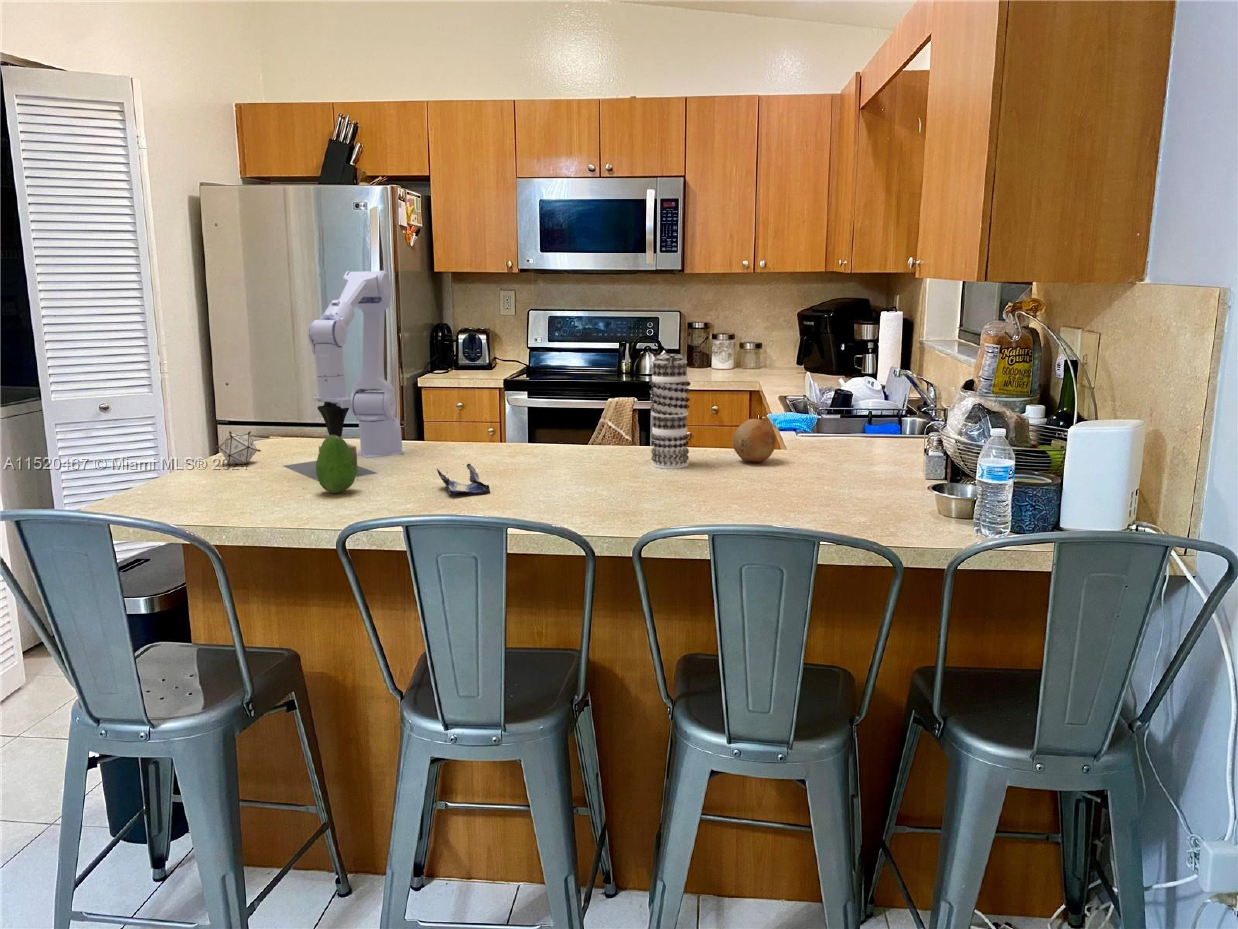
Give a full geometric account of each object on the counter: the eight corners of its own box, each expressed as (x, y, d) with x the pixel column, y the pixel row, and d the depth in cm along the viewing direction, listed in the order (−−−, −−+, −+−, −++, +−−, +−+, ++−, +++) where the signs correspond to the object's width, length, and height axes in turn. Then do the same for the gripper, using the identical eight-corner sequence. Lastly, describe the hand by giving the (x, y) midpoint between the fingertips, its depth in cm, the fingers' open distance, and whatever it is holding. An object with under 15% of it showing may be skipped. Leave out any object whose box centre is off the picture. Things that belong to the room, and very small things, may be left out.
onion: (727, 465, 205) (727, 421, 203) (738, 456, 214) (739, 414, 212) (769, 468, 202) (770, 423, 200) (779, 459, 211) (780, 416, 209)
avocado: (321, 499, 179) (316, 439, 177) (314, 491, 186) (309, 433, 184) (362, 494, 183) (358, 435, 180) (354, 486, 190) (350, 430, 187)
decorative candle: (669, 471, 200) (669, 357, 195) (641, 464, 207) (640, 354, 201) (698, 465, 206) (699, 354, 200) (670, 459, 213) (669, 352, 207)
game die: (250, 479, 214) (274, 443, 215) (231, 474, 206) (256, 437, 207) (221, 459, 216) (245, 424, 217) (201, 453, 208) (226, 417, 208)
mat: (336, 459, 218) (335, 457, 218) (378, 474, 200) (378, 473, 200) (281, 467, 210) (281, 465, 209) (321, 484, 192) (321, 482, 192)
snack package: (495, 485, 191) (440, 484, 191) (494, 457, 189) (438, 456, 189) (487, 509, 180) (429, 508, 180) (486, 479, 178) (427, 478, 177)
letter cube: (355, 445, 199) (358, 473, 200) (344, 442, 203) (346, 469, 205) (329, 449, 195) (331, 477, 196) (318, 445, 200) (320, 473, 201)
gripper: (299, 374, 199) (305, 435, 202) (326, 379, 188) (331, 444, 191) (330, 371, 204) (335, 431, 207) (358, 376, 193) (363, 439, 196)
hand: (335, 437), depth 199 cm, fingers closed
